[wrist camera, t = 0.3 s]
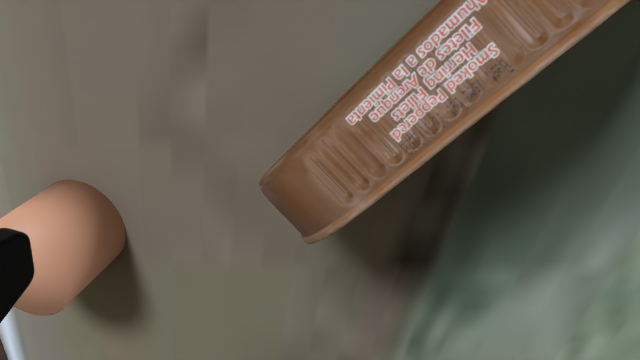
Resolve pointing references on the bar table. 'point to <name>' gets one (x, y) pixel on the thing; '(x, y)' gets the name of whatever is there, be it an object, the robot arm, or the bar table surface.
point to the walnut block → (2, 352)
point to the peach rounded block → (66, 242)
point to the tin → (421, 102)
